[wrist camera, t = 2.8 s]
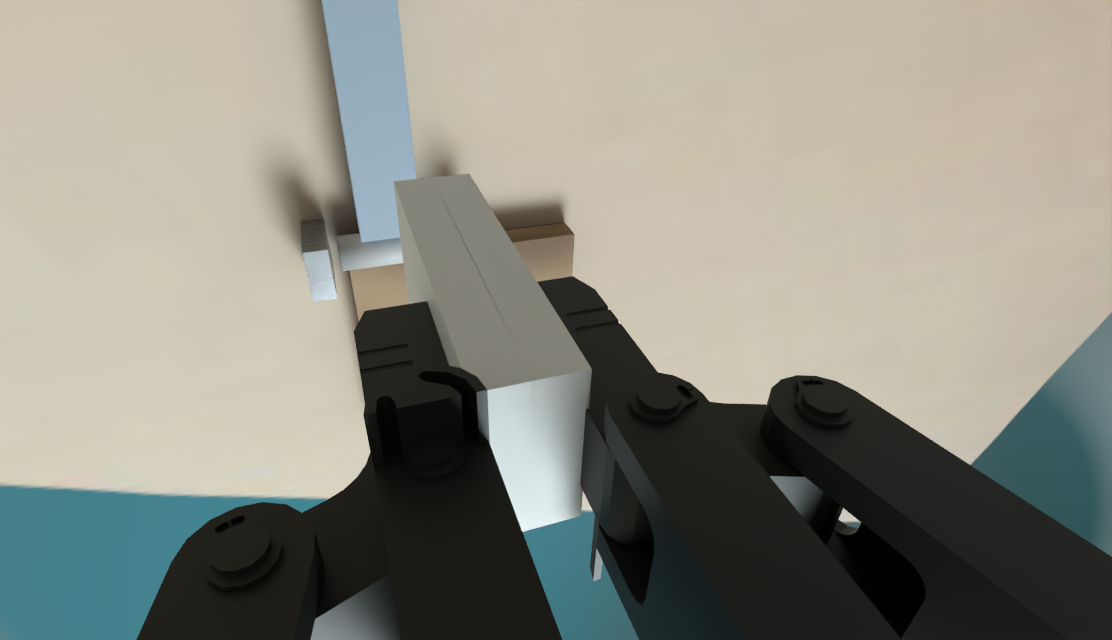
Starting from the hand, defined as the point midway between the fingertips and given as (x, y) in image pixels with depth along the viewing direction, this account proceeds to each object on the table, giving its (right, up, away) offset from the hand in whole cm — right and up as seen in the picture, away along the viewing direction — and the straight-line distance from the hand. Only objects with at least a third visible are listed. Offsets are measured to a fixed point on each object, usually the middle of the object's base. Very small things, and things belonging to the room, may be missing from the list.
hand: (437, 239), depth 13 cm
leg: (-5, +7, +14) cm, 17 cm away
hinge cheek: (-9, +2, +16) cm, 18 cm away
